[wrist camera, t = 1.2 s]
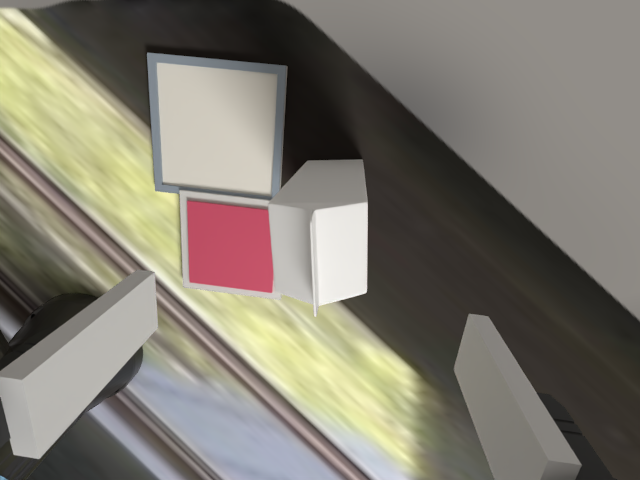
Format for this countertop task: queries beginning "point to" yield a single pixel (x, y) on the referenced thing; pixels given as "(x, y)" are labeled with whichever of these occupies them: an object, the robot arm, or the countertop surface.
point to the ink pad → (226, 244)
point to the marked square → (217, 125)
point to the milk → (321, 232)
